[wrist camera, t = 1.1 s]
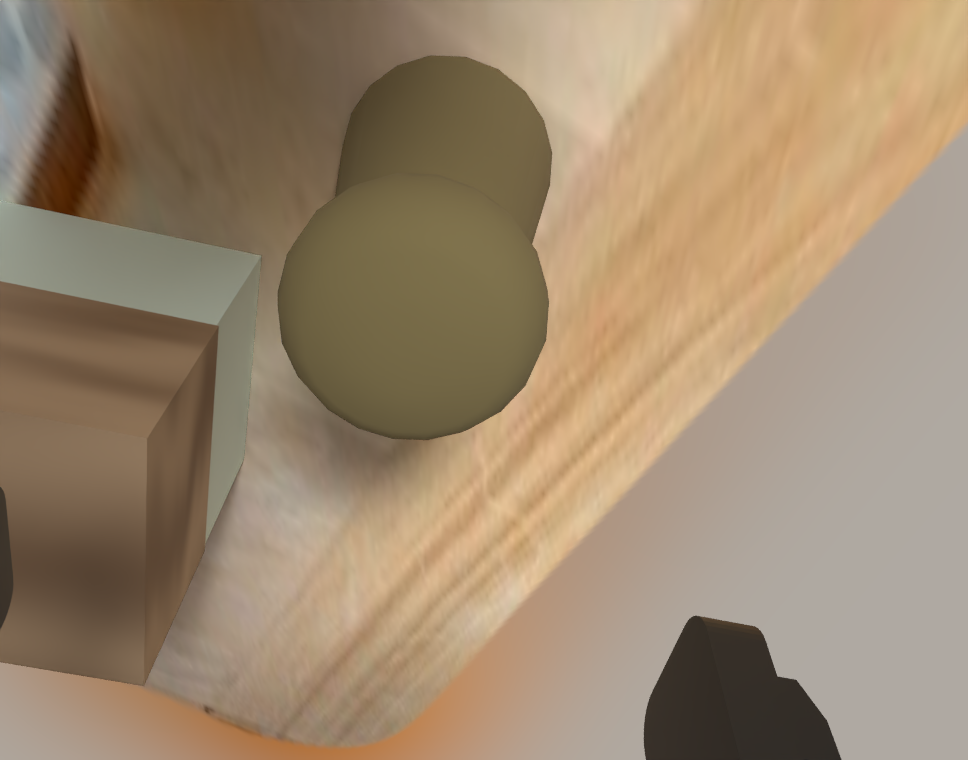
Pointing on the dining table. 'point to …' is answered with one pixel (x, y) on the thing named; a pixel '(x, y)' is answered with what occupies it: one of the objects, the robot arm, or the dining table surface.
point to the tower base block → (151, 300)
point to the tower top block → (101, 477)
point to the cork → (425, 255)
